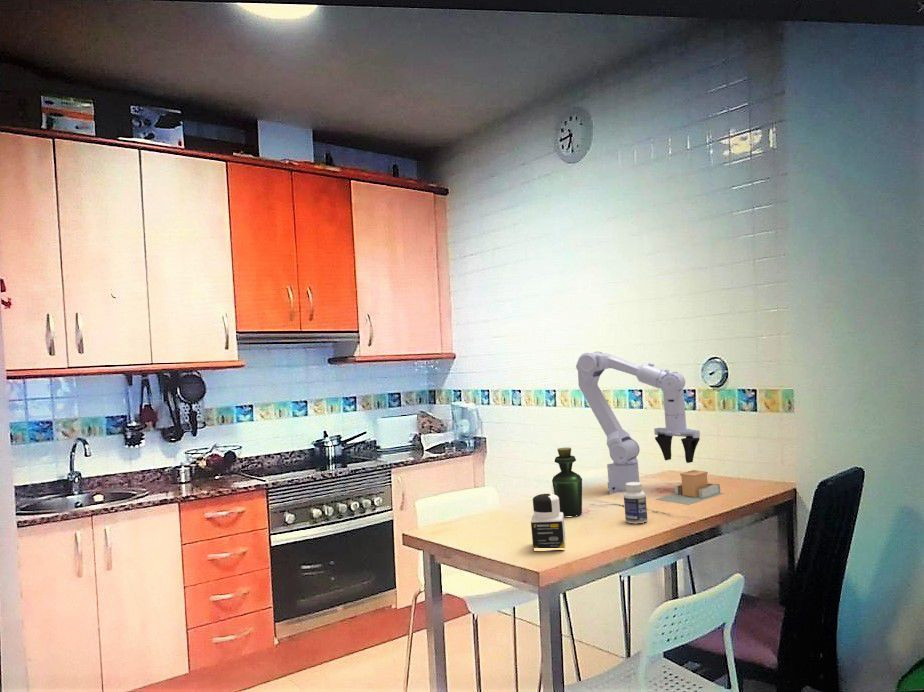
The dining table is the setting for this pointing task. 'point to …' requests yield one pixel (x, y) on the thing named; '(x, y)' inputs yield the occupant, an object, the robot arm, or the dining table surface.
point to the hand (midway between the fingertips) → (678, 461)
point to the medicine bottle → (547, 522)
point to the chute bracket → (701, 490)
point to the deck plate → (684, 499)
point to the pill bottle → (635, 503)
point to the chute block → (693, 482)
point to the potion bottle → (567, 484)
